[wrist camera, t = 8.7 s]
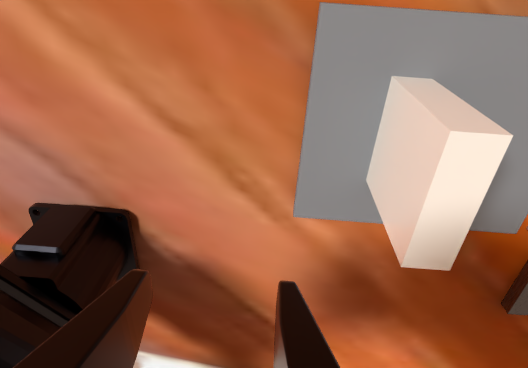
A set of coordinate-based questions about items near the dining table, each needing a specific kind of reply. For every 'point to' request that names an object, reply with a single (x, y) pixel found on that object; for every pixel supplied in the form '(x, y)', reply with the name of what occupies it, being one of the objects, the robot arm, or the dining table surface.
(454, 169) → the tile
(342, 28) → the mat
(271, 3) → the dining table surface
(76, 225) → the robot arm
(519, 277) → the turner
